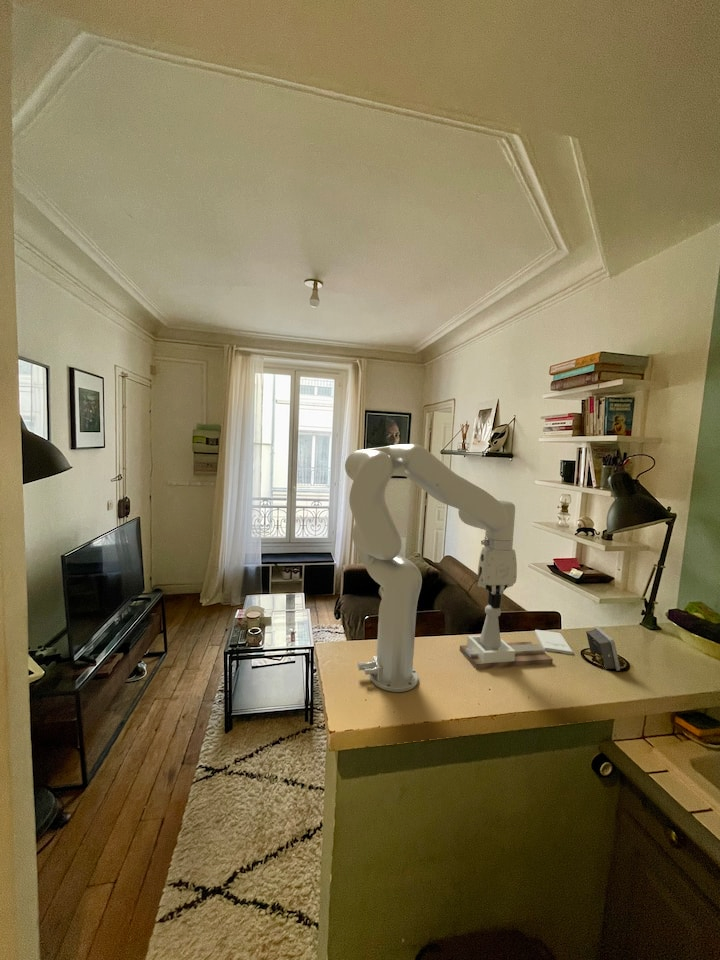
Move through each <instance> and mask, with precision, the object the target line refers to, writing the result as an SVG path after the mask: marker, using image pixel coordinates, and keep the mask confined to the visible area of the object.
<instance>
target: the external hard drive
mask: <svg viewBox="0 0 720 960" xmlns="http://www.w3.org/2000/svg"><path fill="white" fill-rule="evenodd" d="M534 634H535V636H536V637H537V639H538V641H539V643H540V646H541V647H542V648H544V649H545V652H553V653H560V654H566V655H574V651H573V650H572V648H571V646H569V644H568V642H567V641H566V639H565V638H564V636H563V635H562V634H561V633H560V632H557V631H556V632H554V631H548V630H541V629H535V630H534Z"/></svg>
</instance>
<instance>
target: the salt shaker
mask: <svg viewBox="0 0 720 960" xmlns="http://www.w3.org/2000/svg"><path fill="white" fill-rule="evenodd" d="M484 613H485V614H486V615H485V619H484V624H483V626H482V630H481V634H480V635H481V637H480V643H481V646H482V648H483V649H484V650H485V651H489V650H498V649H499V647H500V646H501V640H500V638H501V633H500V625H499V623H500V622H499V617H500V616H501V613H502V611H501V607H500V608H493V607H492V606H490V605H489V604H487V605H486V606H485V607H484Z"/></svg>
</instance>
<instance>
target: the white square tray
mask: <svg viewBox="0 0 720 960" xmlns="http://www.w3.org/2000/svg"><path fill="white" fill-rule="evenodd" d="M480 637H481V634H479V635H478V634H477V635H467V637H466V638H467V640H466V645H467V646H468V647H469V648H473V649H474V650H475V651H476V652H477V653H478V658H479V659H480V660H481V661H482V662H483V663H494V662H509V661H514V660H515V650H514V649H513V648H511V647H510V646H509V645H508V644H507V643H508V642H506V641H505V640H503V638H501V637H500V640H501V646H500V648H499V650H489V651H485V650H484V649H483V648H482V646H481V643H480ZM500 649H502V650H500Z"/></svg>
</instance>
